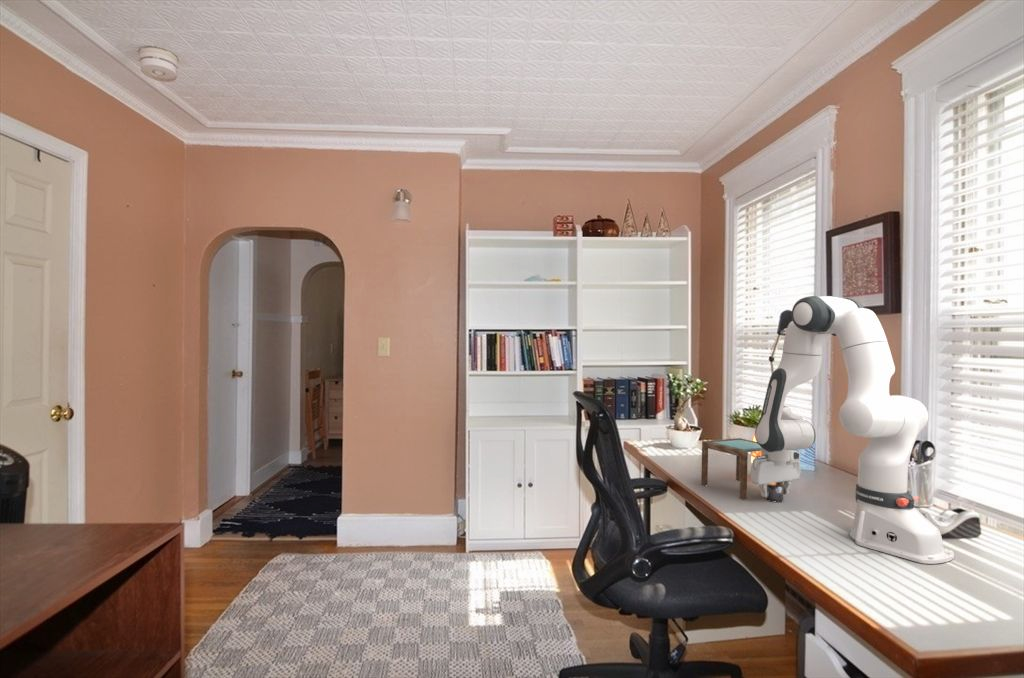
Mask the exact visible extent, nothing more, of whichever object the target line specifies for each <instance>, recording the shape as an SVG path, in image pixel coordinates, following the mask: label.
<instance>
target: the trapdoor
mask: <svg viewBox="0 0 1024 678" xmlns="http://www.w3.org/2000/svg"><path fill="white" fill-rule="evenodd" d="M712 443H715V444H719V445H723V446H728V447H732V448H736V449H740V450H744V451H748V453H751V452H755V451H761V446H760V445H759V444H757V443H753V442H748V441H744V440H731V441H720V442H712Z"/></svg>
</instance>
